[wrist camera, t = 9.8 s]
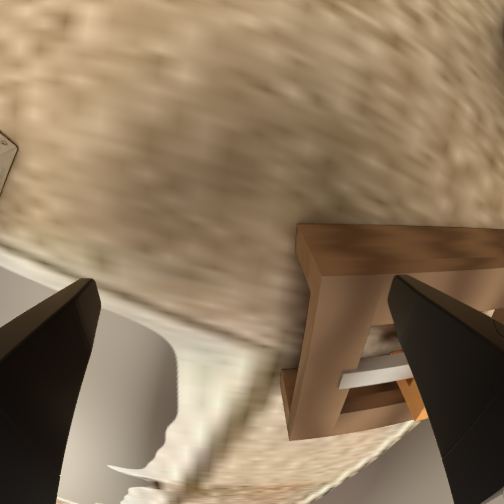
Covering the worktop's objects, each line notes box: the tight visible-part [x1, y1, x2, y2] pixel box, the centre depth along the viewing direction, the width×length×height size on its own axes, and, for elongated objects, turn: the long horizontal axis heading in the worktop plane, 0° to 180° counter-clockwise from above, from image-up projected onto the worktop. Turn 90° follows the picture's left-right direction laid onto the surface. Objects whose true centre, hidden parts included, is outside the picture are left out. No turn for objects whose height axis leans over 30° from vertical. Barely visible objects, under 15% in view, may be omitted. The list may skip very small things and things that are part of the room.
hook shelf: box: [280, 224, 504, 441], centre depth 23 cm, size 20×16×7 cm
